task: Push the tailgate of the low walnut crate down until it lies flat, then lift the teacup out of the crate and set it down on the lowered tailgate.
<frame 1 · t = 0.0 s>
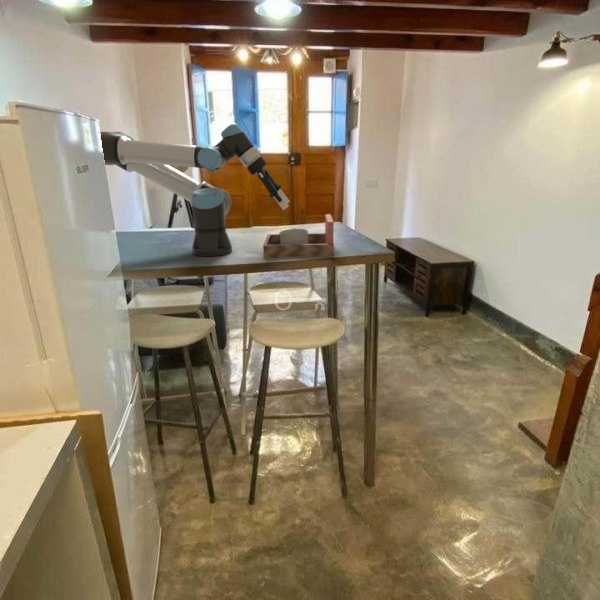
hand: (286, 205, 169), 15 cm above the table, tool tilted 35°, fingers open, 13 cm apart
tailgate: (329, 233, 160), point 6 cm above the table, hinge at 0.0°
teacup: (294, 251, 162), resting in crate
crate: (298, 250, 162), on the table
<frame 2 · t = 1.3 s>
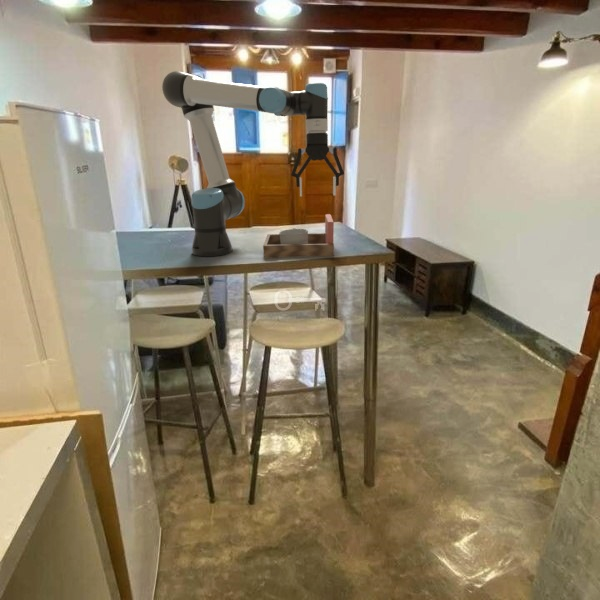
hand: (317, 195, 155), 21 cm above the table, tool pointing down, fingers open, 12 cm apart
nothing on the table moved.
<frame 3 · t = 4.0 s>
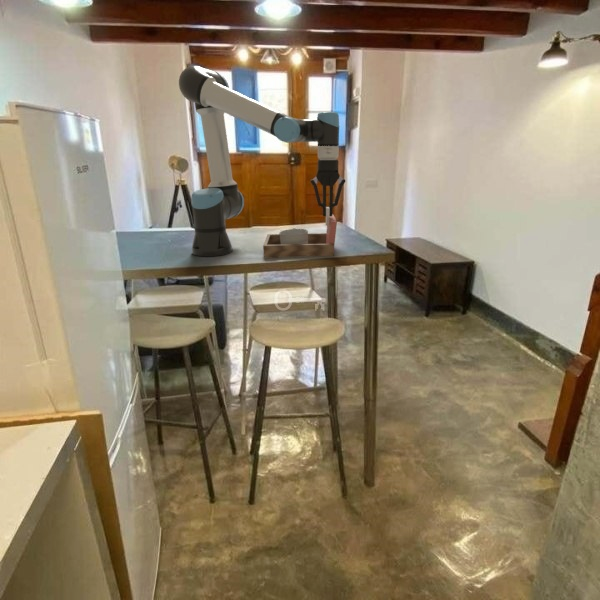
hand: (327, 224, 158), 10 cm above the table, tool pointing down, fingers closed
tailgate: (330, 233, 160), point 6 cm above the table, hinge at 5.9°, touching gripper
everything else where it was.
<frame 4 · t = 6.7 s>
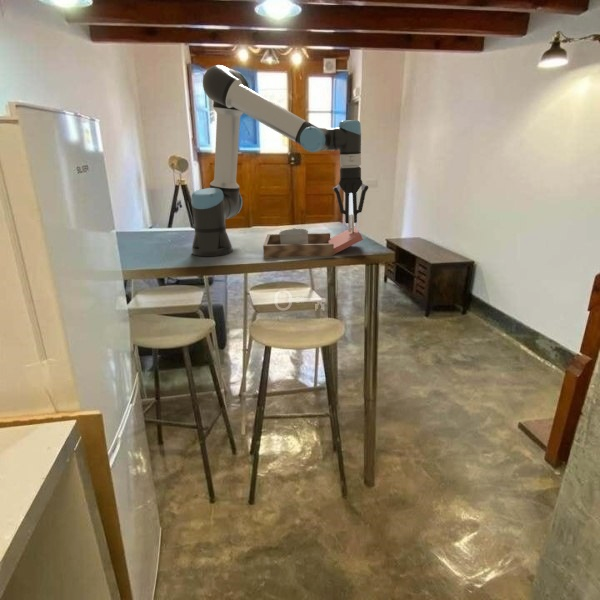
hand: (351, 231, 159), 7 cm above the table, tool pointing down, fingers closed
tailgate: (344, 239, 160), point 4 cm above the table, hinge at 63.3°, touching gripper
everything else where it was.
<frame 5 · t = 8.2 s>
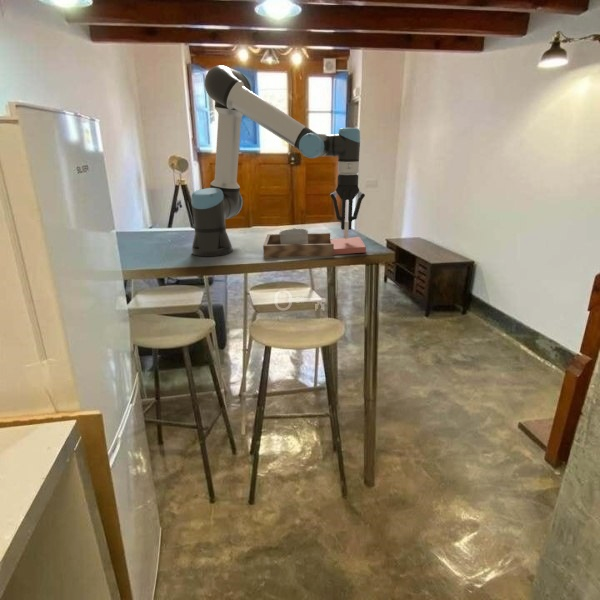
hand: (345, 237, 160), 5 cm above the table, tool pointing down, fingers closed
tailgate: (347, 245, 161), point 2 cm above the table, hinge at 86.8°
everything else where it was.
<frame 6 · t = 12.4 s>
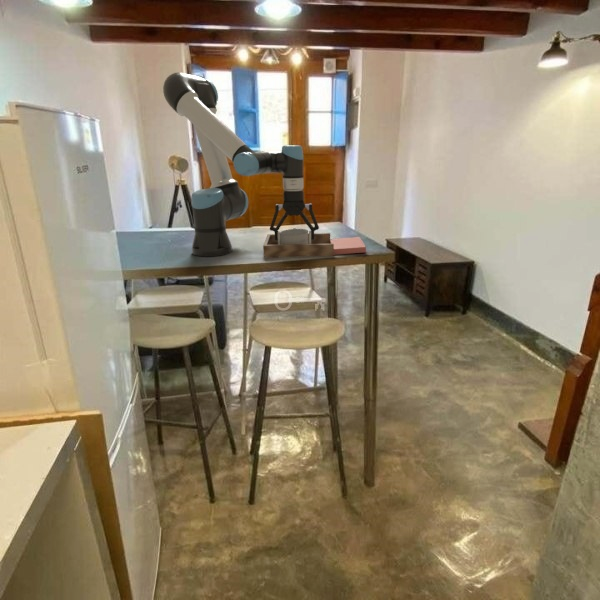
hand: (294, 248, 162), 1 cm above the table, tool pointing down, fingers open, 11 cm apart
teacup: (295, 251, 162), resting in crate, touching gripper
everything else where it was.
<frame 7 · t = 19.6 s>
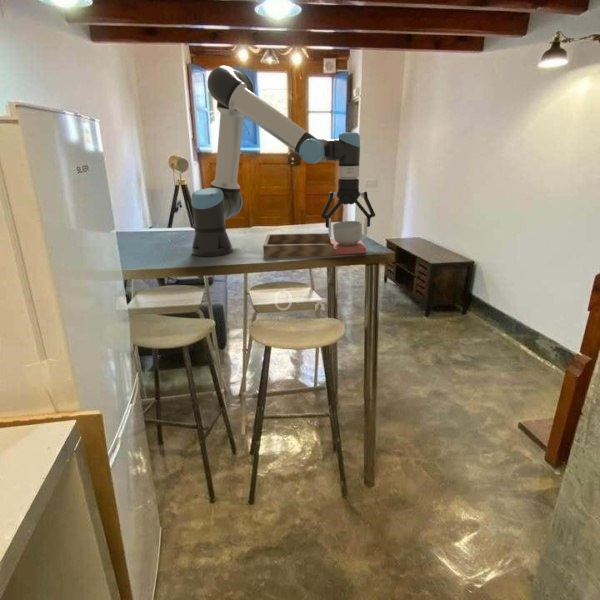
hand: (347, 235, 160), 5 cm above the table, tool pointing down, fingers open, 13 cm apart
tailgate: (347, 245, 161), point 1 cm above the table, hinge at 88.1°, touching teacup
teacup: (347, 243, 161), point 2 cm above the table, touching tailgate
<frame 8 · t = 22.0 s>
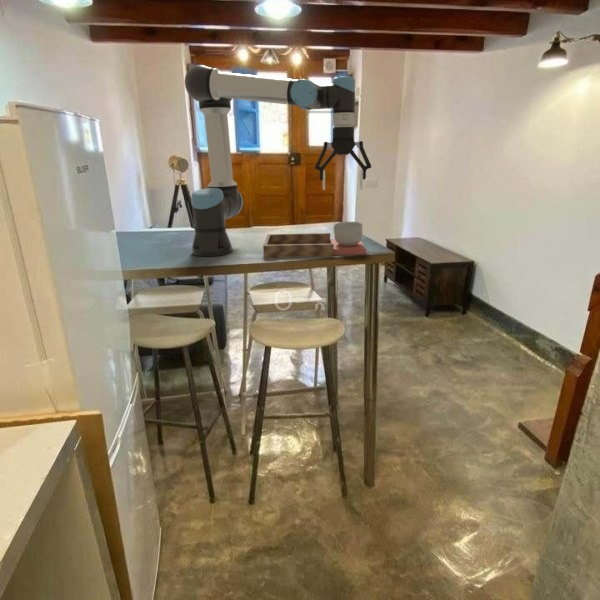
hand: (342, 189, 154), 23 cm above the table, tool pointing down, fingers open, 13 cm apart
tailgate: (347, 246, 161), point 1 cm above the table, hinge at 90.1°, touching teacup
everything else where it was.
at the end: tailgate at +90° (first picture: +0°); teacup inside the target area on the table beside the tailgate (0.2 cm from its centre), point 1.8 cm above the table; teacup tilted 0° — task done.
